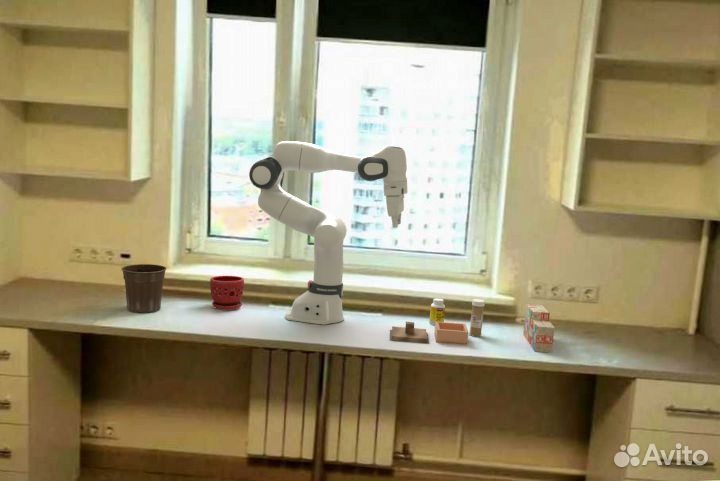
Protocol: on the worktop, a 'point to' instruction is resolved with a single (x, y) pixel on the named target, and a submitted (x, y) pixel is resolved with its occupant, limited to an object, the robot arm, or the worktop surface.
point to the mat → (407, 341)
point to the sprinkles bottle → (476, 317)
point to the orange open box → (451, 333)
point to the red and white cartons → (538, 328)
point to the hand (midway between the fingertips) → (396, 225)
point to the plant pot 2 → (227, 292)
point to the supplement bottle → (437, 311)
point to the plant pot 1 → (143, 287)
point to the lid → (409, 333)
